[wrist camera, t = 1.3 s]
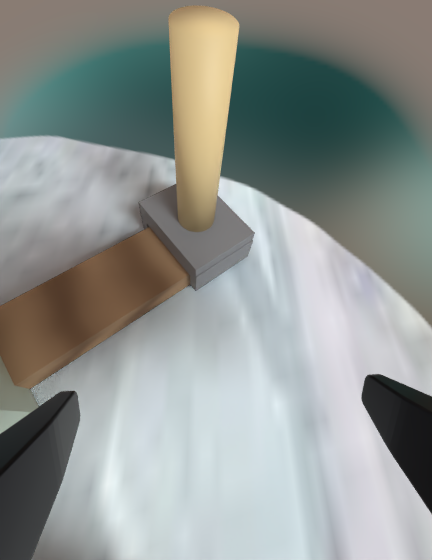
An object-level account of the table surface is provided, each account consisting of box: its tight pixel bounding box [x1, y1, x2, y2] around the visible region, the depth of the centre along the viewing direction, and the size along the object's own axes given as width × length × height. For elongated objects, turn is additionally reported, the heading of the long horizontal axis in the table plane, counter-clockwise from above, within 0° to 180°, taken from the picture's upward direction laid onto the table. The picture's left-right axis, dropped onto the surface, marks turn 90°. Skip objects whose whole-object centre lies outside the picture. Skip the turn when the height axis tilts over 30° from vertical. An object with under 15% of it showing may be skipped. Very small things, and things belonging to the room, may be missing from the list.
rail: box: [0, 227, 190, 389], centre depth 24 cm, size 22×6×2 cm, turn 129°
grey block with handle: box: [139, 6, 255, 291], centre depth 19 cm, size 6×8×16 cm
